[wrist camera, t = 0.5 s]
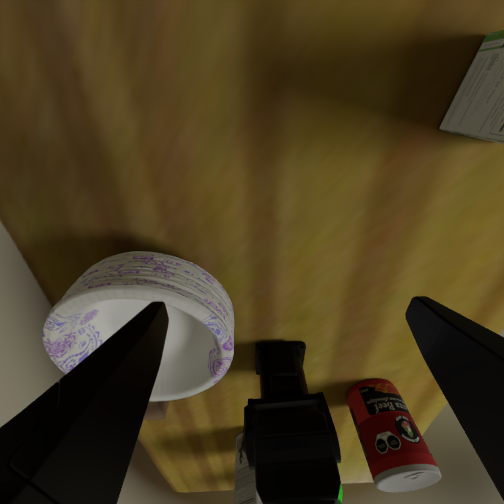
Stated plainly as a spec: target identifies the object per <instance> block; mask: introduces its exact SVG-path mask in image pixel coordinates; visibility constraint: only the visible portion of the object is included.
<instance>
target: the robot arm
mask: <svg viewBox="0 0 504 504" xmlns="http://www.w3.org/2000/svg"><path fill="white" fill-rule="evenodd" d="M405 315H406V320H407V322H408V325H409V327H410V329H411V331H412V334H413V336H414V338H415V340H416V343H417V345H418V347H419V349H420V352H421V354H422V356H423V358H424V360H425V362H426V364H427V366H428V367H429V369H430V371H431V373H432V374H433V376H434V378H435V380H436V382H437V383H438V385H439V387H440V389H441V390H442V392H443V394H444V396H445V398H446V399H447V401H448V403H449V405H450V406H451V408H452V410H453V412H454V413H455V415H456V417H457V419H458V421H459V422H460V424H461V426H462V428H463V429H464V431H465V433H466V435H467V437H468V438H469V440H470V442H471V444H472V445H473V447H474V449H475V451H476V453H477V454H478V456H479V458H480V460H481V461H482V463H483V465H484V467H485V468H486V470H487V472H488V474H489V476H490V477H491V479H492V481H493V483H494V484H495V486H496V488H497V490H498V492H499V493H500V495H501V497H502V499H503V501H504V337H502V336H500V335H498V334H496V333H494V332H493V331H491V330H489V329H487V328H485V327H483V326H481V325H479V324H477V323H476V322H474V321H472V320H470V319H468V318H466V317H464V316H462V315H461V314H459V313H457V312H455V311H453V310H451V309H449V308H447V307H445V306H444V305H442V304H440V303H438V302H436V301H434V300H432V299H430V298H429V297H426V296H416V297H413V298H412V300H411V302H410V304H409V306H408V309H407V311H406V314H405ZM168 325H169V317H168V313H167V309H166V305H165V303H164V302H163V301H153V302H151V303H150V304H148V305H147V306H146V307H145V308H144V309H143V310H141V311H140V312H139V313H138V314H137V315H135V316H134V317H133V318H132V319H131V320H130V321H128V322H127V323H126V324H125V325H124V326H122V327H121V328H120V329H119V330H118V331H117V332H115V333H114V334H113V335H112V336H111V337H109V338H108V339H107V340H106V341H105V342H104V343H102V344H101V345H100V346H99V347H98V348H96V349H95V350H94V351H93V352H92V353H91V354H89V355H88V356H87V357H86V358H85V359H83V360H82V361H81V362H80V363H79V364H78V365H76V366H75V367H74V368H73V369H72V370H70V371H69V372H68V373H67V374H66V375H65V376H63V377H62V378H61V379H60V380H59V382H56V383H55V384H54V385H53V386H52V387H50V388H49V389H48V390H47V391H46V392H44V393H43V394H42V395H41V396H40V397H38V398H37V399H36V400H35V401H33V402H32V403H31V404H30V405H29V406H27V407H26V408H25V409H24V410H22V411H21V412H20V413H19V414H17V415H16V416H15V417H13V418H12V419H11V420H10V421H9V422H7V423H6V424H4V425H3V426H2V427H0V504H117V501H118V498H119V495H120V492H121V488H122V485H123V482H124V479H125V476H126V472H127V469H128V466H129V463H130V460H131V457H132V453H133V450H134V447H135V444H136V441H137V438H138V435H139V431H140V428H141V425H142V422H143V419H144V416H145V413H146V409H147V406H148V403H149V400H150V397H151V394H152V390H153V387H154V384H155V381H156V378H157V375H158V371H159V368H160V364H161V360H162V355H163V350H164V345H165V340H166V335H167V330H168ZM305 349H306V345H305V343H304V342H286V343H259V344H256V374H257V375H260V391H261V398H260V399H253V398H251V399H248V405H247V406H246V407H244V429H243V437H242V451H243V452H244V453H245V455H246V457H247V461H248V465H249V469H250V470H255V483H256V490H257V493H258V495H259V497H260V499H261V501H262V503H263V504H337V501H338V496H339V491H340V486H341V481H340V475H339V471H338V466H337V463H340V462H341V454H340V447H339V442H338V437H337V433H336V430H335V426H334V423H333V420H332V417H331V415H330V412H329V409H328V406H327V403H326V400H325V397H324V394H323V392H318V393H315V394H309V393H308V388H307V384H306V379H305V374H304V370H303V361H304V355H305Z"/></svg>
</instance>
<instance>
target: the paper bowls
mask: <svg viewBox="0 0 504 504" xmlns="http://www.w3.org/2000/svg"><path fill="white" fill-rule="evenodd" d="M153 301H163V302H164V303H165V305H166V309H167V313H168V317H169V325H168V330H167V335H166V340H165V345H164V350H163V355H162V360H161V364H160V368H159V371H158V375H157V378H156V381H155V384H154V387H153V390H152V394H151V397H150V400H149V401H169V400H176V399H181V398H186V397H189V396H192V395H195V394H198V393H200V392H202V391H204V390H206V389H208V388H210V387H211V386H213V385H214V384H216V383H217V382H218V381H219V380H220V379H221V378H222V377H223V376H224V374H225V373H226V372H227V370H228V369H229V367H230V364H231V362H232V359H233V355H234V314H233V306H232V304H231V300H230V299H229V296H228V295H227V293H226V291H225V290H224V288H223V287H222V285H221V284H220V283H219V282H218V281H217V280H216V279H215V278H214V277H213V276H212V275H211V274H209V273H208V272H207V271H206V270H204V269H202V268H201V267H199V266H197V265H196V264H193V263H192V262H189V261H186V260H183V259H180V258H178V257H175V256H171V255H166V254H163V253H156V252H145V251H134V252H126V253H121V254H117V255H114V256H111V257H108V258H105V259H103V260H101V261H100V262H98V263H96V264H95V265H93V266H91V267H90V268H89V269H88V270H87V271H86V272H85V273H83V274H82V276H80V277H79V278H78V279H77V281H76V282H75V283H73V285H72V286H71V287H70V288H69V289H68V291H67V292H66V293H65V295H64V296H63V297H62V298H61V299H60V301H59V302H58V303H57V304H56V305H54V306H53V308H52V309H51V310H50V312H49V314H48V316H47V319H46V321H45V323H44V326H43V331H42V333H43V334H42V336H43V343H44V347H45V349H46V352H47V353H48V355H49V357H50V358H51V359H52V361H53V362H54V363H55V365H56V366H57V367H59V369H60V370H62V371H63V372H64V373H65V374H67V373H68V372H69V371H70V370H72V369H73V368H74V367H75V366H76V365H78V364H79V363H80V362H81V361H82V360H83V359H85V358H86V357H87V356H88V355H89V354H91V353H92V352H93V351H94V350H95V349H96V348H98V347H99V346H100V345H101V344H102V343H104V342H105V341H106V340H107V339H108V338H109V337H111V336H112V335H113V334H114V333H115V332H117V331H118V330H119V329H120V328H121V327H122V326H124V325H125V324H126V323H127V322H128V321H130V320H131V319H132V318H133V317H134V316H135V315H137V314H138V313H139V312H140V311H141V310H143V309H144V308H145V307H146V306H147V305H148V304H150V303H151V302H153Z"/></svg>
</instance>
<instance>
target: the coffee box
mask: <svg viewBox="0 0 504 504" xmlns="http://www.w3.org/2000/svg"><path fill="white" fill-rule="evenodd" d="M242 437H243V433H241V434H240V435H238V436H236V457H235V488H234V491H235V492H234V504H263V503H262V501H261V499H260V497H259V495H258V493H257V490H256V483H255V470H250V469H249V465H248V461H247V457H246V455H245V453H244V452H243V451H242Z"/></svg>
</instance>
